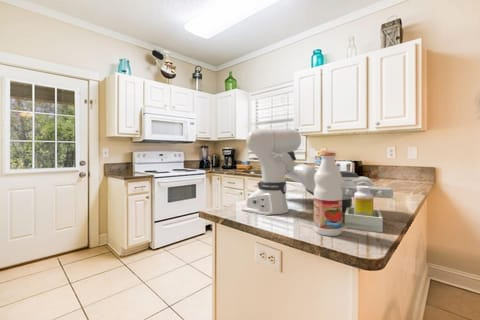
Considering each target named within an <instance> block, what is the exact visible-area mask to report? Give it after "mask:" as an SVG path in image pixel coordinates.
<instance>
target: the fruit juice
mask: <svg viewBox="0 0 480 320" xmlns="http://www.w3.org/2000/svg"><path fill="white" fill-rule="evenodd" d="M336 156H337V155H336V152H320V158H321V160H320V163H319V167H318V169H316V171H317V172H316V173H315V176H314V180H315V184H316V187H315V189H314V195H313V231H314V232H315V233H317V234H318V235H322V236H327V237H328V236H329V237H336V236H339V235H341V234H342V232H343V211H342V190H341V187H340V185H341V182H342V175H341V173H340V172H339V169H338V167H337V164H336V161H335V158H336Z"/></svg>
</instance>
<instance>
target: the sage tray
mask: <svg viewBox="0 0 480 320" xmlns="http://www.w3.org/2000/svg"><path fill="white" fill-rule="evenodd" d="M344 212H345V213H344V228H346V229H353V230H354V229H355V230H360V231H367V232H376V233H383V230H384V229H383V225H384V224H383V222H384V218H383V216H382V215H383V214H382V212H381V210H379V209H373V217H372V216H363V215H354V207H350V208H349V207H347V208H346V210H345V211H344Z"/></svg>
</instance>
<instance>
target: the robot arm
mask: <svg viewBox="0 0 480 320" xmlns="http://www.w3.org/2000/svg"><path fill="white" fill-rule="evenodd" d="M301 143H302V137H301V135H300V133H299V132H298V131H297V130H295V129H288V128H281V129H280V128H264V129H263V128H262V129H254V130H251V131H249V132H248V133H247V135H246V138H245V144H246V146H247V148H248V150H250V152H252V153H253V154H254V155H255V156H256V157H257V158H258V161H259V164H260V169H261V171H260V172H261V181H258V182H257V183H256V184H257V185H256V186H258V188H257V189H255V191H253V192H252V193H250V195H248V196H247V198H246V204H245V205H243V206H242V207H241V211H244V212H249V213H254V214H259V215H263V216H264V215H265V216H271V215H282V214H286V213H288V212H289V207H288V203H287V196H286V195H287V181H286V175H287V177H288V178H289V179H291V180H292V181H294V182H297V183H300V184H302V186H303V187H304V188H305V190H306V191H307V192H308V193H309V194H310V195H312V196H314V189H315V187H316V184H315V180H314V176H315V173H316V172H317V169H316V168H315V167H314V166H312V165H310V164H306V163H301V162H300V163H299V162H296V160H297V157H296V154H295V151H298V149H299V148H300V146H301ZM338 171H339V170H338ZM339 172H340V173H341V175H342V182H341V185H340V187H341V190H342V212H346V208H347V207H349V208H352V206H353V198H354V194H355V193H356V192H357V186H369V187H371V190H370V193H371V194H372V195H373V198H380V199H381V198H382V199H393V198H394V189H393V188H391V187H389V186H380V185H374V182H373V180H372V179H371V178H369V177H367V176H359V175H358V174H357V173H356V172H353V171H347V170H346V171H345V170H340V171H339Z"/></svg>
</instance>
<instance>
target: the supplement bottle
mask: <svg viewBox="0 0 480 320" xmlns="http://www.w3.org/2000/svg"><path fill="white" fill-rule="evenodd" d="M370 190H371V187H369V186H357V192H356V193H355V194H354V197H353V208H354V215H363V216H372V217H373V210H374V197H373V195H372V194H371V193H370Z"/></svg>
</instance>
